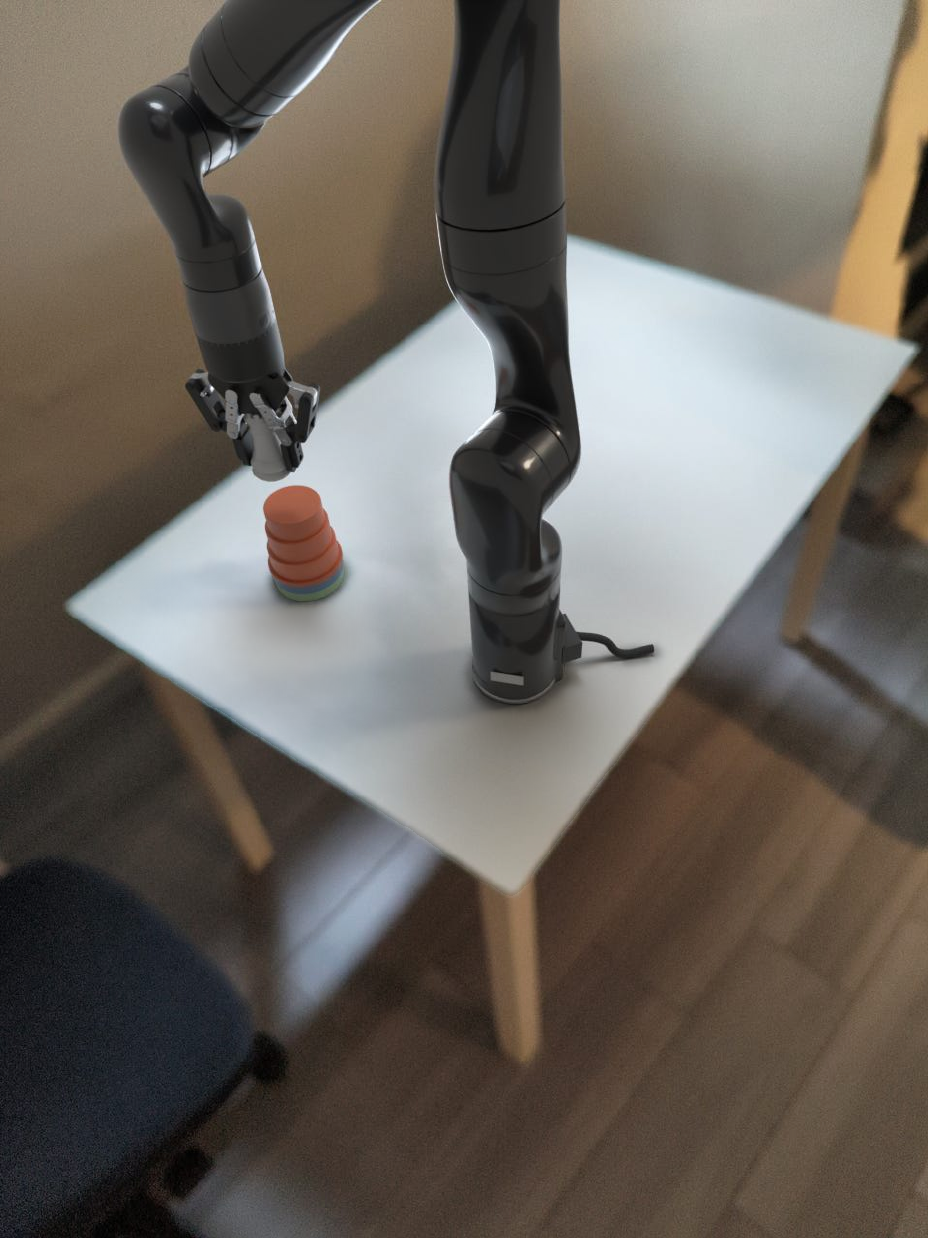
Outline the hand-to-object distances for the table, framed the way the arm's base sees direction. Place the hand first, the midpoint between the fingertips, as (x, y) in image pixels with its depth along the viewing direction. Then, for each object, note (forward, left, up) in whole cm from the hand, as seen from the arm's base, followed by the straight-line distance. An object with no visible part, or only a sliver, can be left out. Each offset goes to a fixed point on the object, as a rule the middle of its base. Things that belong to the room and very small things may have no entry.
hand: (271, 463), depth 97 cm
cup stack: (-1, -2, -19) cm, 19 cm away
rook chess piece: (0, 0, -1) cm, 1 cm away
